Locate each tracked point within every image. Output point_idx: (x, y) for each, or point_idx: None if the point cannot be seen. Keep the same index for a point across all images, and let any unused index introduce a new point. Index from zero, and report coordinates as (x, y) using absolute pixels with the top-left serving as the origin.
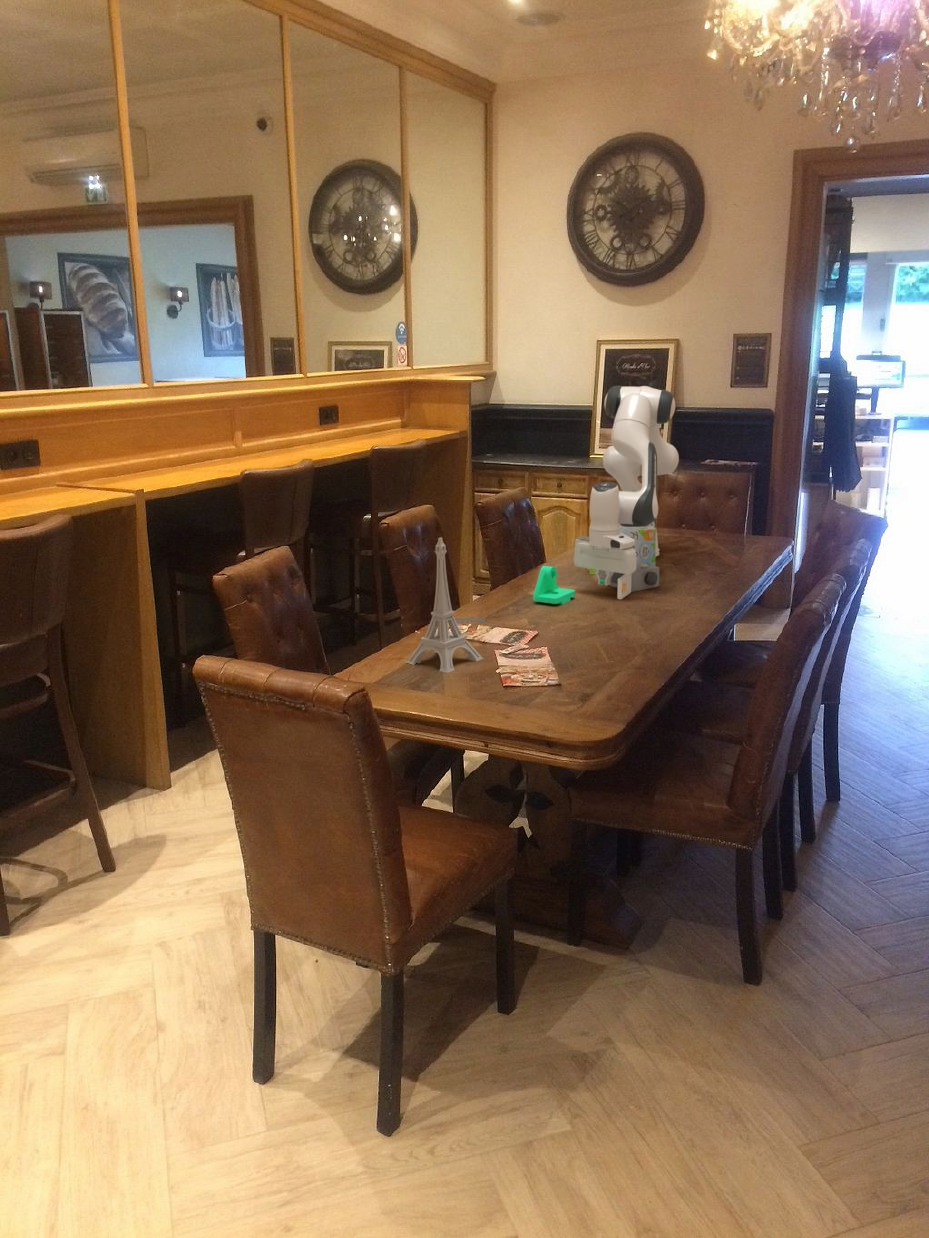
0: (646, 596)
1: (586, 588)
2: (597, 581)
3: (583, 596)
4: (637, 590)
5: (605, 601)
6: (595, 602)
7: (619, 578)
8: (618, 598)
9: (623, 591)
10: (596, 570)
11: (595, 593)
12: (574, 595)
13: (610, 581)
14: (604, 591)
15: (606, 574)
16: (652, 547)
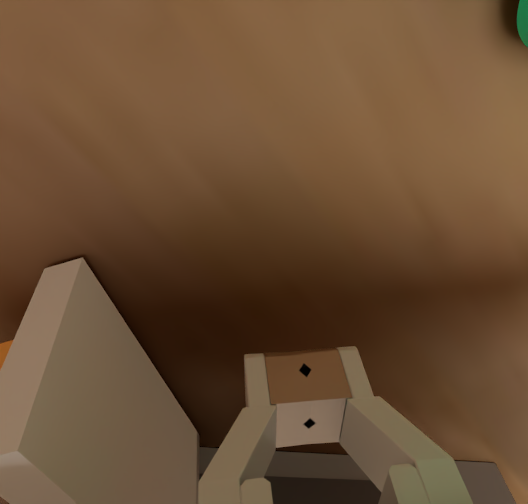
0: None
1: (515, 356)
2: (497, 470)
3: (443, 161)
4: None
5: (121, 131)
6: (178, 13)
7: (25, 473)
8: (71, 264)
9: (12, 340)
10: (445, 500)
11: (388, 298)
12: (523, 3)
13: None
14: None
15: (251, 479)
16: None
